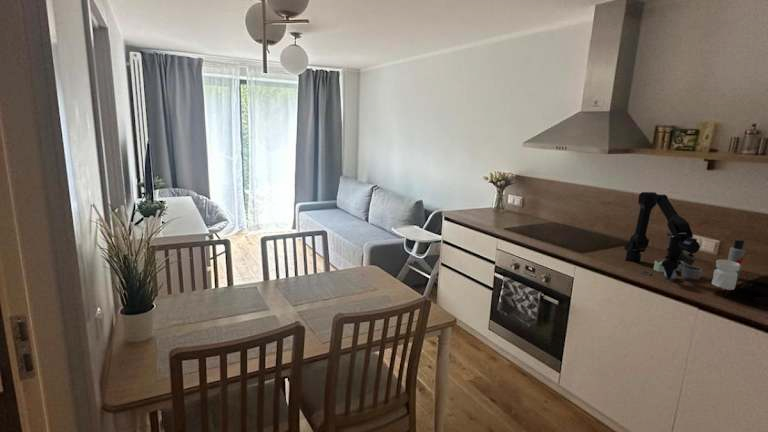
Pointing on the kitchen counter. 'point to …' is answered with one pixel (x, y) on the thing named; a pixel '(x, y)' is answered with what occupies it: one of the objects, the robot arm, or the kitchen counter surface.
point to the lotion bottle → (737, 253)
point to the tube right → (691, 272)
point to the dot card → (681, 266)
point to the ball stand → (651, 273)
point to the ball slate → (672, 274)
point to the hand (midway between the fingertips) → (669, 277)
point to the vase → (725, 274)
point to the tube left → (658, 266)
